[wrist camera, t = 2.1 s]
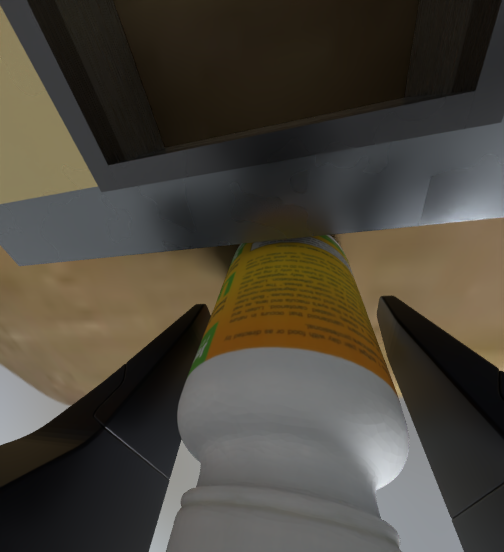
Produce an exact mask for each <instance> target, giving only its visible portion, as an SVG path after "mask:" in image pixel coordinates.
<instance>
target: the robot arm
mask: <svg viewBox="0 0 504 552" xmlns="http://www.w3.org/2000/svg"><path fill="white" fill-rule="evenodd" d="M210 318H211V315H210V313H209V310H208V307H207V305H206V304H196V305H194V306H193V307H192V308H191V309H190V310H189V311H187V312H186V313H185V314H184V315H183V316H181V317H180V318H179V319H178V320H177V321H175V322H174V323H173V324H172V325H171V326H169V327H168V328H167V329H166V330H165V331H164V332H162V333H161V334H160V335H159V336H158V337H156V338H155V339H154V340H153V341H152V342H150V343H149V344H148V345H147V346H146V347H144V348H143V349H142V350H141V351H140V352H139V353H137V354H136V355H135V356H134V357H133V358H131V359H130V360H129V361H128V362H127V363H126V364H124V365H123V366H122V367H121V368H119V369H118V370H117V371H116V372H115V373H113V374H112V375H111V376H110V377H108V378H107V379H106V380H105V381H104V382H102V383H101V384H100V385H98V386H97V387H96V388H94V389H93V390H92V391H90V392H89V393H88V394H87V395H85V396H84V397H83V398H81V399H80V400H78V401H77V402H76V403H74V404H73V405H72V406H70V407H69V408H68V409H66V410H65V411H64V412H62V413H61V414H60V415H58V416H57V417H56V418H54V419H53V420H52V421H50V422H49V423H47V424H46V425H45V426H43V427H41V428H40V429H38V430H36V431H35V432H33V433H31V434H29V435H27V436H24V437H22V438H20V439H17V440H14V441H12V442H9V443H6V444H3V445H0V552H149V548H150V545H151V542H152V538H153V535H154V531H155V528H156V525H157V521H158V518H159V514H160V511H161V507H162V504H163V500H164V497H165V494H166V491H167V487H168V484H169V479H170V476H171V473H172V470H173V466H174V463H175V459H176V456H177V452H178V449H179V446H180V442H181V436H180V433H179V429H178V422H177V412H178V404H179V401H180V397H181V394H182V391H183V388H184V385H185V382H186V379H187V377H188V374H189V371H190V369H191V367H192V364H193V361H194V359H195V356H196V354H197V351H198V349H199V346H200V344H201V341H202V338H203V336H204V333H205V331H206V328H207V325H208V323H209V320H210ZM377 319H378V323H379V327H380V331H381V334H382V338H383V342H384V346H385V350H386V353H387V357H388V360H389V363H390V365H391V368H392V370H393V373H394V375H395V378H396V380H397V383H398V385H399V388H400V390H401V393H402V396H403V398H404V401H405V403H406V405H407V408H408V411H409V413H410V415H411V418H412V421H413V423H414V426H415V428H416V431H417V433H418V436H419V438H420V441H421V443H422V446H423V448H424V451H425V454H426V456H427V459H428V461H429V464H430V466H431V469H432V471H433V473H434V476H435V479H436V481H437V484H438V486H439V489H440V491H441V494H442V496H443V499H444V502H445V504H446V507H447V509H448V512H449V514H450V517H451V518H452V522H453V525H454V527H455V530H456V532H457V535H458V537H459V540H460V542H461V545H462V548H463V550H464V552H504V372H503V371H499V369H498V368H497V367H496V366H494V365H493V364H491V363H490V362H488V361H487V360H486V359H484V358H483V357H481V356H480V355H478V354H477V353H476V352H474V351H473V350H471V349H470V348H468V347H467V346H465V345H464V344H463V343H461V342H460V341H458V340H457V339H455V338H454V337H452V336H451V335H450V334H448V333H447V332H445V331H444V330H442V329H441V328H440V327H438V326H437V325H435V324H434V323H432V322H431V321H429V320H428V319H427V318H425V317H424V316H422V315H421V314H419V313H418V312H416V311H415V310H414V309H412V308H411V307H409V306H408V305H406V304H405V303H404V302H402V301H401V300H399V299H398V298H396V297H395V296H381V297H380V299H379V304H378V310H377Z"/></svg>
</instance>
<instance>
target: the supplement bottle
mask: <svg viewBox="0 0 504 552" xmlns="http://www.w3.org/2000/svg"><path fill="white" fill-rule="evenodd" d="M177 422H178V429H179V433H180V436H181V439H182V441H183V443H184V444H185V446H186V448H187V449H188V451H189V452H190V453H191V454H192V455H193V456H194V457H195V458H196V459H197V460H198V461H199V462H200V463H201V469H200V475H199V479H198V483H197V486H196V488H193V489H190V490H188V491H187V492H185V493H184V494H183V496H182V498H181V506H182V508H181V509H180V510H179V512H178V513H177V515H176V517H175V521H174V525H173V529H172V532H171V535H170V539H169V542H168V546H167V550H166V552H401V550H400V549H399V547H400V537H399V535H398V533H397V531H396V530H395V529H394V528H393V527H392V526H391V525H389V524H388V523H387V522H386V521H384V520H382V519H381V517H380V514H379V511H378V506H377V502H376V489H379V488H381V487H383V486H385V485H387V484H388V483H390V482H391V481H392V480H393V479H395V478H396V477H397V475H398V474H399V473H400V472H401V470H402V468H403V467H404V465H405V462H406V459H407V456H408V450H409V434H408V429H407V424H406V421H405V417H404V414H403V411H402V408H401V404H400V401H399V398H398V395H397V392H396V390H395V387H394V384H393V382H392V379H391V376H390V374H389V371H388V368H387V365H386V363H385V360H384V358H383V355H382V353H381V350H380V347H379V344H378V342H377V339H376V336H375V334H374V331H373V328H372V326H371V323H370V320H369V318H368V315H367V312H366V309H365V307H364V304H363V301H362V298H361V296H360V293H359V290H358V288H357V285H356V282H355V279H354V277H353V274H352V271H351V268H350V265H349V263H348V260H347V258H346V256H345V254H344V252H343V250H342V248H341V247H340V245H339V244H338V243H337V242H336V240H335V239H334V238H332V237H331V236H330V235H322V236H313V237H303V238H293V239H283V240H273V241H263V242H253V243H243V244H241V245H240V246H239V247H238V249H237V251H236V253H235V255H234V257H233V259H232V262H231V265H230V267H229V270H228V272H227V275H226V278H225V280H224V283H223V286H222V288H221V291H220V294H219V297H218V299H217V302H216V305H215V307H214V310H213V313H212V315H211V318H210V320H209V323H208V325H207V328H206V331H205V333H204V336H203V338H202V341H201V344H200V346H199V349H198V351H197V354H196V356H195V359H194V361H193V364H192V367H191V369H190V371H189V374H188V377H187V379H186V382H185V385H184V388H183V391H182V394H181V397H180V401H179V404H178V412H177Z"/></svg>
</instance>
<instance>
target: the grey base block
mask: <svg viewBox="0 0 504 552" xmlns="http://www.w3.org/2000/svg"><path fill="white" fill-rule="evenodd" d="M501 217H504V0H419V6H418V12H417V19H416V25H415V32H414V38H413V44H412V51H411V57H410V64H409V70H408V77H407V83H406V90H405V96H404V98H400V99H395V100H391V101H386V102H381V103H376V104H371V105H367V106H362V107H357V108H352V109H348V110H343V111H338V112H333V113H329V114H324V115H319V116H314V117H310V118H305V119H300V120H295V121H290V122H286V123H281V124H276V125H271V126H267V127H262V128H257V129H252V130H248V131H243V132H238V133H233V134H229V135H224V136H219V137H214V138H209V139H205V140H200V141H195V142H190V143H186V144H181V145H176V146H171V147H167V148H164V145H163V142H162V139H161V136H160V133H159V131H158V128H157V125H156V122H155V119H154V116H153V113H152V111H151V108H150V105H149V102H148V99H147V96H146V93H145V91H144V88H143V85H142V82H141V79H140V76H139V73H138V71H137V68H136V65H135V62H134V59H133V56H132V53H131V51H130V48H129V45H128V42H127V39H126V36H125V33H124V31H123V28H122V25H121V22H120V19H119V16H118V13H117V11H116V8H115V5H114V2H113V0H0V245H1V246H2V247H3V249H4V250H5V251H6V252H7V253H8V254H9V255H10V256H11V257H12V259H13V260H14V261H15V262H16V263H17V264H18V265H19V266H25V265H35V264H45V263H55V262H65V261H75V260H85V259H95V258H105V257H114V256H124V255H134V254H144V253H154V252H164V251H174V250H184V249H194V248H204V247H213V246H223V245H233V244H243V243H253V242H263V241H273V240H283V239H293V238H303V237H313V236H322V235H332V234H342V233H352V232H362V231H372V230H382V229H392V228H402V227H412V226H421V225H431V224H441V223H451V222H461V221H471V220H481V219H491V218H501Z"/></svg>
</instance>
